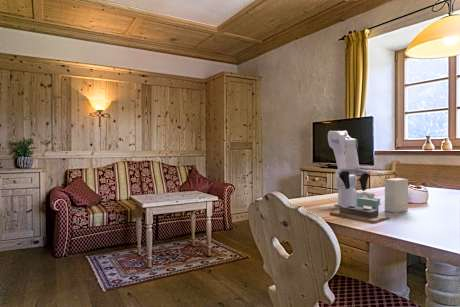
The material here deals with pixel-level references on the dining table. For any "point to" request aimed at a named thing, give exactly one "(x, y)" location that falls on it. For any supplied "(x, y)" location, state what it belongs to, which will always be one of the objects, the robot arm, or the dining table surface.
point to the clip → (368, 203)
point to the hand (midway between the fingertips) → (356, 189)
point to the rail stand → (359, 214)
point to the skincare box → (396, 195)
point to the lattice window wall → (369, 196)
